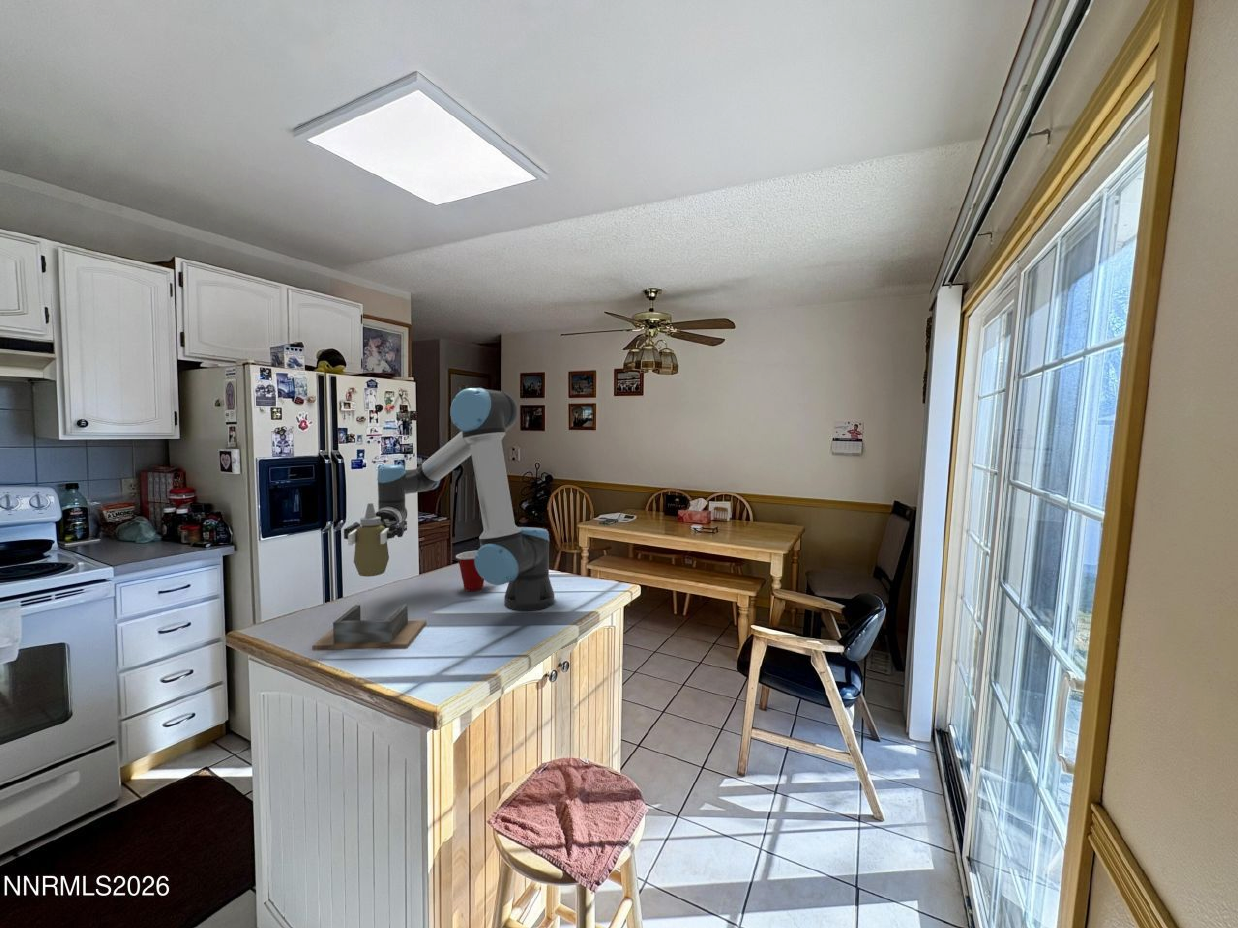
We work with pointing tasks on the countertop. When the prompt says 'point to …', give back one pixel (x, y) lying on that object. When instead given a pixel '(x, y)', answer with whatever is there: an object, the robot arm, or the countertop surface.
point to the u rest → (371, 631)
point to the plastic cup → (469, 571)
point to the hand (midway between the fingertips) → (366, 539)
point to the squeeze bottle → (370, 545)
